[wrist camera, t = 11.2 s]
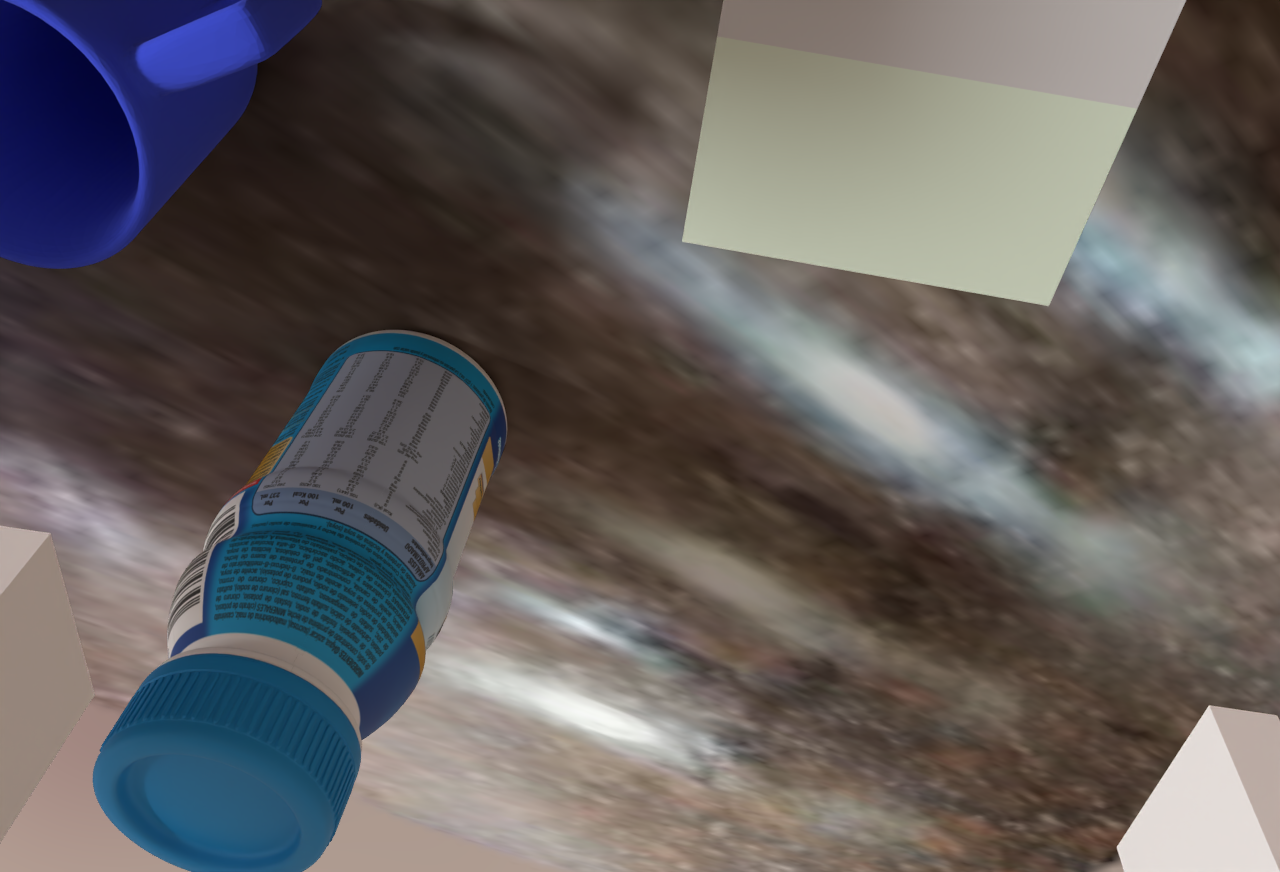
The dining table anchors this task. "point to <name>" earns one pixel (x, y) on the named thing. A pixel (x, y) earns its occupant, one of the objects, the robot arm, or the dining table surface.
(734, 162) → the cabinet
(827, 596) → the dining table surface
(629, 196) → the dining table surface
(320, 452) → the beverage bottle
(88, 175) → the mug
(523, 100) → the dining table surface
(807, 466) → the dining table surface
